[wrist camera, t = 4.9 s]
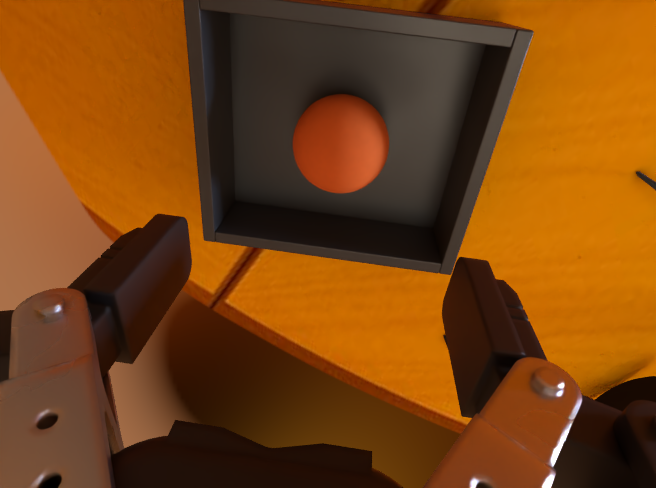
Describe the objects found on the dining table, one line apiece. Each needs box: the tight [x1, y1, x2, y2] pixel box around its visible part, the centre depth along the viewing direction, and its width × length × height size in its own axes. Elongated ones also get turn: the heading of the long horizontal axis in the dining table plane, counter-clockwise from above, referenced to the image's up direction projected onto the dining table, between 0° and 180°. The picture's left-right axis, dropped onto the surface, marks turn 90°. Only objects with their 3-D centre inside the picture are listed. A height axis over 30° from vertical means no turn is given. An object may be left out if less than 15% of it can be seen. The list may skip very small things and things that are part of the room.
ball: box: [293, 94, 389, 193], centre depth 21 cm, size 5×5×5 cm
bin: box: [183, 0, 533, 275], centre depth 21 cm, size 14×12×5 cm
